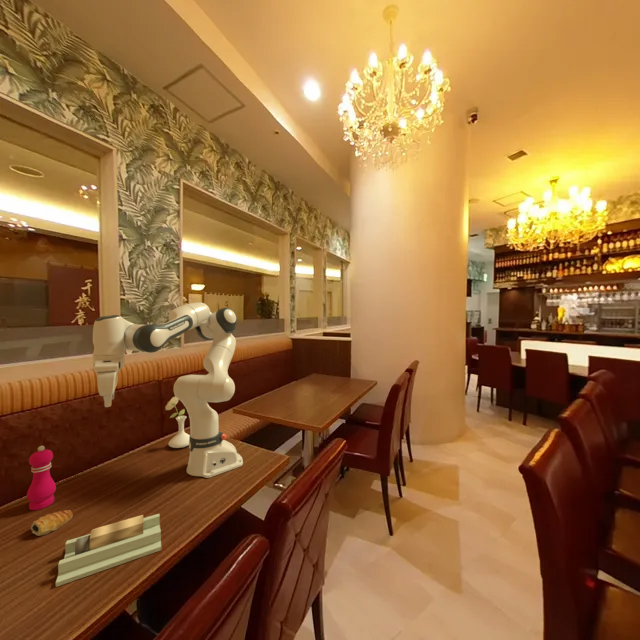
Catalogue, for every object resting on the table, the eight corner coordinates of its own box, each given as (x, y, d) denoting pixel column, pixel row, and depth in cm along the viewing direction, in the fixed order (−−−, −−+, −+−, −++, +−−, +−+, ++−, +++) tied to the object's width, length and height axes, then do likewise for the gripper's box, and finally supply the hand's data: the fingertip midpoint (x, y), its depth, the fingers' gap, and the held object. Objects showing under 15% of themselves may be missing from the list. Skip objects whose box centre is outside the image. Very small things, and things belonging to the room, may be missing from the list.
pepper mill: (39, 498, 105) (38, 441, 105) (61, 497, 106) (60, 441, 105) (20, 512, 98) (19, 451, 97) (44, 510, 98) (43, 450, 98)
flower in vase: (185, 438, 156) (185, 390, 156) (198, 443, 150) (198, 394, 149) (160, 447, 146) (160, 396, 145) (173, 453, 139) (172, 400, 139)
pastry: (65, 513, 97) (65, 502, 97) (77, 519, 94) (77, 507, 94) (28, 532, 89) (28, 519, 89) (39, 539, 86) (39, 526, 86)
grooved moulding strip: (159, 520, 94) (159, 508, 94) (161, 550, 82) (161, 537, 82) (68, 547, 83) (68, 534, 83) (55, 587, 71) (55, 572, 71)
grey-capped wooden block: (143, 531, 87) (143, 514, 87) (143, 540, 84) (143, 522, 84) (78, 552, 80) (77, 533, 80) (75, 562, 76) (74, 543, 76)
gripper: (101, 359, 110) (102, 397, 110) (93, 367, 92) (93, 412, 92) (122, 358, 113) (122, 394, 113) (117, 366, 95) (118, 409, 96)
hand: (109, 402), depth 103 cm, fingers open, 8 cm apart
